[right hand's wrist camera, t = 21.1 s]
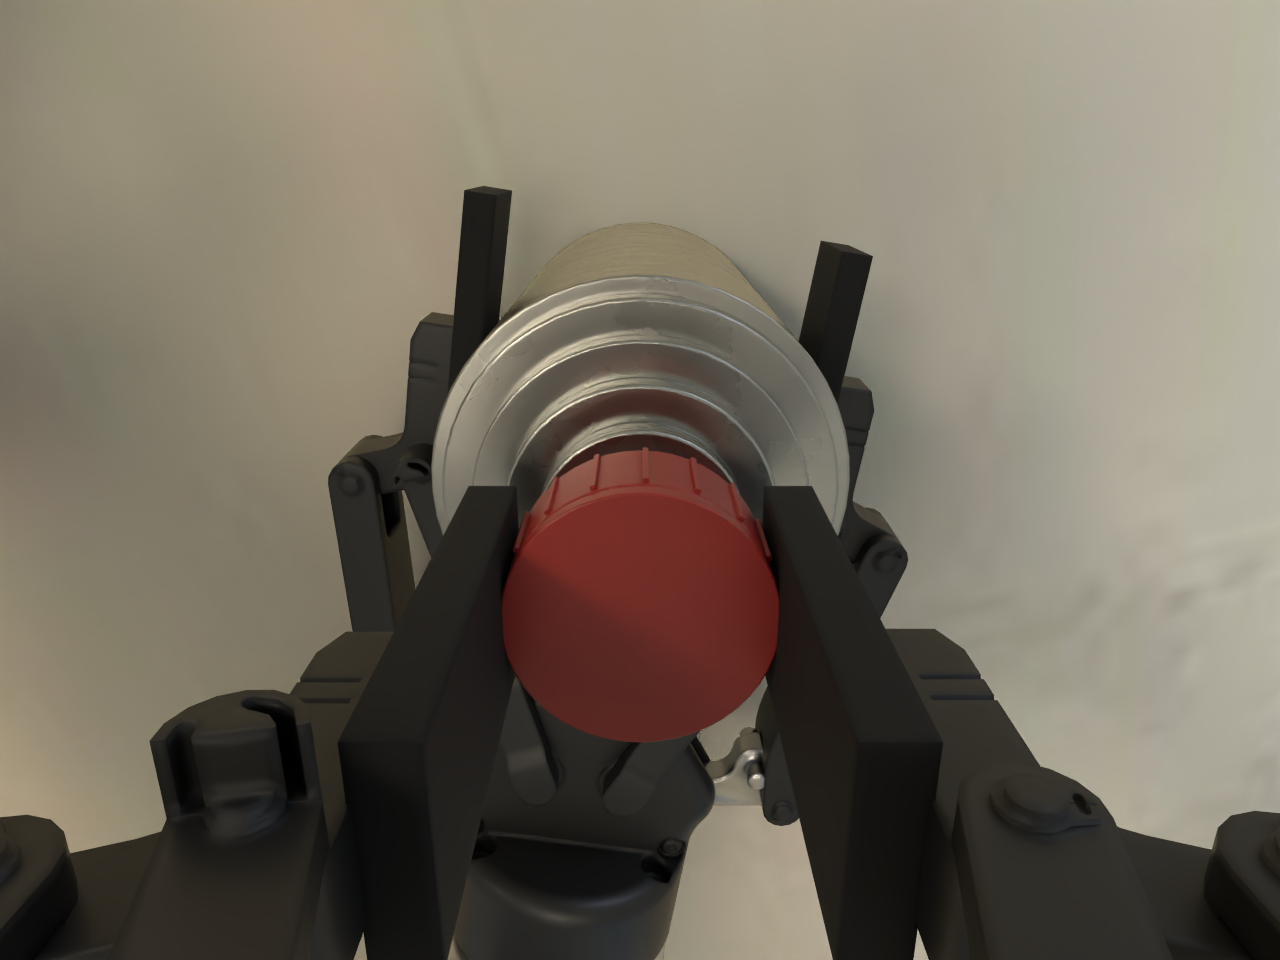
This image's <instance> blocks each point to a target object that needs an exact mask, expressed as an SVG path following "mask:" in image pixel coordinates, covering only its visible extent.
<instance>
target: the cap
mask: <svg viewBox="0 0 1280 960" xmlns="http://www.w3.org/2000/svg"><path fill="white" fill-rule="evenodd" d="M513 552H515V553H514V557H513V560H512V563H511V566H510V569H509V573H508V576H507V579H506V582H505V586H504V589H503V592H502V599H501V604H502V623H503V639H504V649H505V652H506V655H507V658H508V660H509V662H510V664H511V667H512V669H513V671H514V673H515V674H516V676H517V677H518V679H519V681H520V682H521V684H522V685H523V687H524V688H525V689H526V690H527V691H528V693H529V694H530V695H531V696H532V697H533V698H534V699H535V700H536V701H537V702H538V703H539V704H540V705H541V706H542V707H543V708H544V709H546V710H547V711H548V712H550V713H551V714H552V715H554V716H555V717H557V718H558V719H559V720H561V721H563V722H565V723H567V724H569V725H570V726H572V727H574V728H576V729H579V730H581V731H584V732H586V733H589V734H592V735H595V736H599V737H603V738H606V739H612V740H618V741H624V742H655V741H664V740H669V739H675V738H679V737H682V736H686V735H689V734H693V733H695V732H697V731H700V730H702V729H705V728H707V727H709V726H711V725H713V724H714V723H716V722H718V721H720V720H722V719H723V718H725V717H726V716H727V715H729V714H730V713H732V712H733V711H734V710H736V709H737V708H738V707H739V706H740V705H741V704H742V703H743V702H744V701H745V700H746V699H748V698H749V697H750V695H751V694H752V693H753V692H754V690H755V689H756V688H757V687H758V685H759V684H760V683H761V681H762V679H763V678H764V676H765V675H766V673H767V671H768V670H769V667H770V665H771V663H772V661H773V658H774V656H775V653H776V647H777V632H778V616H779V591H778V587H777V584H776V581H775V578H774V575H773V571H772V568H771V565H770V562H769V561H772V560H773V558H772V555H771V552H770V549H769V546H768V543H767V540H766V537H765V534H764V531H763V528H762V525H761V522H760V519H756V520H755V518H754V516H753V514H752V512H751V510H750V509H749V507H748V506H747V504H746V503H745V502H744V500H743V499H742V497H741V496H740V495H739V494H738V493H737V489H736V486H735V484H734V483H733V482H731V483H730V484H728V483H727V482H726V481H725V480H724V479H722V478H721V477H720V476H719V475H717V474H716V473H714V472H713V471H711V470H709V469H708V468H706V467H705V466H703V465H700V464H698V463H697V461H696V459H695V458H693V457H691V458H690V460H689V459H686V458H683V457H680V456H677V455H674V454H668V453H663V452H657V451H648V448H645V447H643V451H641V450H638V451H624V452H618V453H613V454H608V455H604V456H601V457H600V455H599V454H597V455H594V459H592V460H589V461H587V462H585V463H583V464H581V465H579V466H577V467H575V468H573V469H572V470H570V471H569V472H567V473H566V474H564V475H562V476H561V477H560V478H558V477H557V476H556V477H554V478H553V479H552V483H551V486H549V487H548V488H547V490H546V491H545V492H544V493H543V494H542V495H541V496H540V498H539V499H538V500H537V502H536V503H535V505H534V506H533V508H532V509H531V511H530V512H528V511H526V512H525V514H524V516H523V519H522V522H521V526H520V529H519V532H518V535H517V538H516V541H515V544H514V547H513Z"/></svg>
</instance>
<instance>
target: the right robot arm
mask: <svg viewBox="0 0 1280 960" xmlns="http://www.w3.org/2000/svg"><path fill="white" fill-rule="evenodd" d="M762 528H763V531H764V534H765V537H766V540H767V543H768V546H769V549H770V552H771V555H772V558H773V560H772V561H769V562H770V565H771V568H772V571H773V575H774V578H775V581H776V584H777V587H778V591H779V616H778V632H777V647H776V653H775V656H774V658H773V661H772V663H771V665H770V667H769V670H768V671H767V673H766V675H765V676H766V680H767V684H768V688H769V693H770V697H771V701H772V705H773V709H774V714H775V718H776V722H777V726H778V730H779V735H780V739H781V743H782V747H783V751H784V756H785V760H786V764H787V768H788V772H789V777H790V781H791V785H792V789H793V793H794V798H795V802H796V806H797V810H798V814H799V819H800V823H801V827H802V831H803V835H804V840H805V844H806V848H807V852H808V856H809V861H810V865H811V869H812V873H813V877H814V882H815V886H816V890H817V894H818V898H819V903H820V907H821V911H822V915H823V919H824V924H825V928H826V932H827V936H828V940H829V945H830V949H831V953H832V957H833V960H913V958H914V951H915V943H916V936H917V929H918V931H919V933H920V936H921V939H922V942H923V945H924V947H925V950H926V953H927V956H928V959H929V960H1280V813H1271V812H1260V811H1252V812H1247V813H1242V814H1237V815H1232V816H1230V817H1229V818H1228V819H1227V820H1226V821H1225V822H1224V823H1223V824H1222V825H1220V826H1219V827H1218V830H1217V833H1216V837H1215V841H1214V844H1213V848H1212V850H1210V849H1206V848H1201V847H1196V846H1192V845H1187V844H1183V843H1178V842H1174V841H1169V840H1164V839H1160V838H1155V837H1151V836H1146V835H1143V834H1139V833H1136V832H1132V831H1129V830H1125V829H1122V828H1119V827H1117V826H1116V823H1115V821H1114V818H1113V817H1112V815H1111V814H1110V813H1109V811H1108V810H1107V808H1106V807H1105V806H1104V804H1103V803H1102V801H1101V800H1100V799H1099V798H1098V797H1097V796H1096V795H1094V794H1093V793H1092V792H1090V791H1089V790H1088V789H1086V788H1085V787H1084V786H1082V785H1081V784H1080V783H1078V782H1077V781H1075V780H1073V779H1071V778H1068V777H1066V776H1064V775H1062V774H1060V773H1057V772H1055V771H1053V770H1051V769H1048V768H1044V767H1040V765H1039V764H1038V762H1037V761H1036V759H1035V757H1034V756H1033V754H1032V753H1031V751H1030V750H1029V748H1028V747H1027V745H1026V744H1025V742H1024V741H1023V739H1022V737H1021V736H1020V734H1019V733H1018V731H1017V730H1016V728H1015V727H1014V725H1013V724H1012V722H1011V721H1010V719H1009V717H1008V716H1007V714H1006V713H1005V711H1004V710H1003V708H1002V707H1001V705H1000V704H999V702H998V701H997V700H994V694H993V693H992V691H991V690H990V688H989V687H988V685H987V684H986V682H985V681H984V679H981V674H980V673H979V671H978V670H977V668H976V667H975V665H974V664H973V662H972V661H971V659H970V658H969V656H968V654H967V653H966V651H965V650H964V649H963V648H961V647H960V646H958V645H957V644H955V643H954V642H953V641H951V640H950V639H948V638H947V637H946V636H944V635H943V634H941V633H940V632H938V631H937V630H936V629H885V628H884V626H883V624H882V622H881V620H880V618H879V616H878V614H877V612H876V610H875V608H874V606H873V604H872V602H871V600H870V598H869V596H868V594H867V592H866V590H865V589H864V587H863V585H862V583H861V581H860V579H859V577H858V575H857V573H856V571H855V569H854V567H853V565H852V563H851V561H850V559H849V557H848V555H847V553H846V551H845V550H844V548H843V546H842V544H841V542H840V540H839V538H838V536H837V534H836V532H835V530H834V528H833V526H832V524H831V522H830V520H829V518H828V516H827V514H826V512H825V510H824V509H823V507H822V505H821V503H820V501H819V499H818V497H817V495H816V493H815V491H814V489H813V487H812V486H764V495H763V515H762ZM518 532H519V523H518V504H517V486H468V488H467V490H466V492H465V494H464V496H463V498H462V500H461V502H460V504H459V506H458V508H457V510H456V512H455V514H454V516H453V518H452V519H451V521H450V523H449V525H448V527H447V529H446V531H445V533H444V535H443V537H442V539H441V541H440V543H439V545H438V547H437V549H436V551H435V553H434V555H433V557H432V559H431V560H430V562H429V564H428V566H427V568H426V570H425V572H424V574H423V576H422V578H421V580H420V582H419V584H418V586H417V588H416V590H415V592H414V594H413V596H412V598H411V600H410V601H409V603H408V605H407V607H406V609H405V611H404V613H403V615H402V617H401V619H400V621H399V623H398V625H397V627H396V629H395V631H394V632H345V633H344V634H342V635H341V636H340V637H338V638H337V639H335V640H334V641H332V642H331V643H330V644H328V645H327V646H325V647H324V648H323V649H321V650H320V651H318V652H317V653H316V654H315V656H314V657H313V659H312V661H311V662H310V664H309V665H308V667H307V668H306V670H305V671H304V673H303V675H302V676H301V680H300V682H297V684H296V685H295V687H294V688H293V690H292V692H291V693H290V694H287V693H283V692H279V691H276V690H245V691H240V692H235V693H230V694H225V695H220V696H216V697H214V698H211V699H209V700H206V701H204V702H201V703H199V704H196V705H193V706H191V707H188V708H187V709H185V710H184V711H182V712H181V713H179V714H178V715H176V716H175V717H173V718H172V719H170V720H169V721H167V722H166V723H164V724H163V726H162V727H161V728H160V729H159V730H158V732H157V733H156V734H155V735H154V736H153V738H152V739H151V740H150V746H151V750H152V755H153V759H154V764H155V768H156V772H157V777H158V781H159V786H160V790H161V795H162V799H163V804H164V808H165V813H166V817H167V820H166V822H165V825H164V827H163V829H162V831H161V832H158V833H155V834H152V835H148V836H145V837H141V838H138V839H134V840H129V841H125V842H120V843H116V844H111V845H107V846H102V847H98V848H93V849H88V850H84V851H79V852H75V853H70V852H69V849H68V845H67V841H66V838H65V834H64V831H63V830H61V829H60V828H59V827H58V826H57V825H56V824H55V823H54V822H53V821H52V820H50V819H45V818H40V817H35V816H30V815H20V816H10V817H0V960H353V959H354V957H355V954H356V951H357V948H358V945H359V942H360V940H361V937H362V934H363V932H364V939H365V946H366V953H367V960H448V956H449V951H450V947H451V943H452V939H453V935H454V930H455V926H456V922H457V918H458V914H459V909H460V905H461V901H462V897H463V893H464V888H465V884H466V880H467V876H468V872H469V867H470V863H471V859H472V855H473V851H474V846H475V842H476V838H477V834H478V830H479V825H480V821H481V817H482V813H483V809H484V804H485V800H486V796H487V792H488V788H489V783H490V779H491V775H492V771H493V767H494V762H495V758H496V754H497V750H498V746H499V741H500V737H501V733H502V729H503V724H504V720H505V716H506V712H507V708H508V703H509V699H510V695H511V691H512V687H513V682H514V678H515V673H514V671H513V669H512V667H511V664H510V662H509V660H508V658H507V655H506V652H505V649H504V639H503V623H502V604H501V599H502V592H503V589H504V586H505V582H506V579H507V576H508V573H509V569H510V566H511V563H512V560H513V557H514V553H515V552H513V547H514V544H515V541H516V538H517V535H518Z"/></svg>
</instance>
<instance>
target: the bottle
mask: <svg viewBox="0 0 1280 960" xmlns="http://www.w3.org/2000/svg"><path fill="white" fill-rule="evenodd" d="M643 447H645V448H648V451H657V452H663V453H668V454H674V455H677V456H680V457H683V458H686V459H689V460H690V458H691V457H693V458H695V459H696V461H697V463H698V464H700V465H703V466H705V467H706V468H708V469H709V470H711V471H713V472H714V473H716V474H717V475H719V476H720V477H721V478H722V479H724V480H725V481H726V482H727V483H728V484H730V483H731V482H733V483H734V484H735V486H736V489H737V493H738V494H739V495H740V496H741V497H742V499H743V500H744V502H745V503H746V504H747V506H748V507H749V509H750V510H751V512H752V514H753V516H754V518H755V520H756V519H760V522H761V525H762V515H763V495H764V486H812V487H813V489H814V491H815V493H816V495H817V497H818V499H819V501H820V503H821V505H822V507H823V509H824V510H825V512H826V514H827V516H828V518H829V520H830V522H831V524H832V526H833V528H834V530H835V532H836V534H837V536H838V534H839V532H840V528H841V524H842V521H843V517H844V513H845V510H846V505H847V497H848V490H849V451H848V445H847V438H846V431H845V428H844V424H843V421H842V418H841V414H840V411H839V408H838V404H837V402H836V400H835V398H834V396H833V394H832V391H831V389H830V387H829V385H828V383H827V381H826V379H825V377H824V376H823V374H822V373H821V371H820V370H819V368H818V367H817V365H816V364H815V362H814V360H813V359H812V357H811V356H810V355H809V354H808V353H807V351H806V350H805V349H804V348H803V347H802V345H801V344H800V343H799V342H798V341H797V339H796V338H795V337H794V336H793V335H792V333H791V332H790V331H789V330H788V329H787V327H786V326H785V325H784V324H783V323H782V321H781V320H780V319H779V318H778V317H777V315H776V314H775V313H774V312H773V311H772V309H771V308H770V307H769V306H768V305H767V303H766V302H765V301H764V300H763V299H762V297H761V296H760V295H759V294H758V293H757V291H756V290H755V289H754V288H753V287H752V285H751V284H750V283H749V282H748V281H747V279H746V278H745V277H744V276H743V275H742V273H741V272H740V271H739V270H738V269H737V268H736V266H735V265H734V264H733V263H732V262H731V261H730V260H729V259H728V258H727V257H726V256H725V255H724V254H723V253H721V252H720V251H719V250H718V249H717V248H715V247H714V246H712V245H711V244H709V243H708V242H706V241H705V240H703V239H701V238H699V237H697V236H695V235H693V234H691V233H689V232H686V231H683V230H680V229H677V228H674V227H671V226H665V225H660V224H654V223H630V224H620V225H615V226H611V227H607V228H603V229H600V230H598V231H595V232H592V233H590V234H587V235H585V236H584V237H582V238H580V239H578V240H576V241H574V242H573V243H571V244H570V245H568V246H567V247H566V248H564V249H563V250H562V251H560V252H559V253H558V254H557V255H556V256H555V257H554V258H553V259H552V260H551V261H550V262H549V263H548V264H547V265H546V266H545V267H544V268H543V269H542V271H541V272H540V273H539V274H538V276H537V277H536V278H535V279H534V280H533V282H532V283H531V284H530V285H529V286H528V288H527V289H526V290H525V291H524V292H523V294H522V295H521V296H520V297H519V298H518V300H517V301H516V302H515V303H514V304H513V306H512V307H511V308H510V309H509V310H508V312H507V313H506V314H505V315H504V316H503V318H502V319H501V320H500V321H499V322H498V324H497V325H496V326H495V327H494V328H493V330H492V331H491V332H490V333H489V335H488V336H487V337H486V338H485V339H484V341H483V342H482V343H481V344H480V345H479V347H478V348H477V349H476V351H475V352H474V353H473V354H472V356H471V357H470V358H469V360H468V361H467V362H466V363H465V365H464V366H463V368H462V369H461V371H460V373H459V375H458V376H457V378H456V380H455V382H454V383H453V385H452V387H451V389H450V391H449V393H448V396H447V398H446V401H445V403H444V406H443V408H442V411H441V413H440V417H439V421H438V425H437V429H436V433H435V437H434V444H433V454H432V464H431V470H432V492H433V498H434V503H435V509H436V514H437V518H438V521H439V524H440V527H441V530H442V533H443V535H444V533H445V531H446V529H447V527H448V525H449V523H450V521H451V519H452V518H453V516H454V514H455V512H456V510H457V508H458V506H459V504H460V502H461V500H462V498H463V496H464V494H465V492H466V490H467V488H468V486H517V504H518V523H519V529H520V526H521V522H522V519H523V516H524V514H525V512H526V511H528V512H530V511H531V509H532V508H533V506H534V505H535V503H536V502H537V500H538V499H539V498H540V496H541V495H542V494H543V493H544V492H545V491H546V490H547V488H548V487H549V486H551V483H552V479H553V478H554V477H556V476H557V477H558V478H560V477H561V476H562V475H564V474H566V473H567V472H569V471H570V470H572V469H573V468H575V467H577V466H579V465H581V464H583V463H585V462H587V461H589V460H592V459H594V455H597V454H599V455H600V457H601V456H604V455H608V454H613V453H618V452H624V451H638V450H641V451H643Z"/></svg>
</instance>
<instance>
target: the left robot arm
mask: <svg viewBox="0 0 1280 960" xmlns="http://www.w3.org/2000/svg"><path fill="white" fill-rule="evenodd" d="M511 195H512V191H511V190H505V189H499V188H492V187H486V186H481V187H477V188H472V189H468V190H464V202H463V214H462V226H461V238H460V250H459V262H458V273H457V285H456V297H455V309H454V316H453V315H447V314H440V313H434V312H432V313H430V314H429V315H428V316H426V317H425V318H424V319H423V320H421V321H420V322H419V324H418V326H417V328H416V330H415V332H414V334H413V336H412V338H411V343H410V357H409V360H410V363H409V372H408V375H409V378H408V387H407V402H406V416H405V428H404V432H403V433H399V434H396V435H391V436H386V437H382V436H377V435H371V436H366V437H364V438H363V439H362V440H360V441H359V442H358V443H357V444H356V445H355V446H354V447H353V448H352V449H351V450H350V451H349V452H348V453H347V454H346V455H345V457H344V458H343V459H342V460H341V461H340V462H339V463H338V464H337V465H336V466H335V467H334V468H333V469H332V471H331V473H330V475H329V479H328V486H329V492H330V498H331V504H332V510H333V516H334V522H335V528H336V534H337V540H338V546H339V552H340V558H341V564H342V570H343V576H344V582H345V588H346V594H347V600H348V606H349V612H350V618H351V624H352V630H353V632H394V631H395V629H396V627H397V625H398V623H399V621H400V619H401V617H402V615H403V613H404V611H405V609H406V607H407V605H408V603H409V601H410V600H411V598H412V596H413V594H414V592H415V584H414V576H413V569H412V562H411V554H410V547H409V540H408V532H407V525H406V518H405V510H404V503H403V496H402V490H405V493H406V495H407V498H408V500H409V503H410V505H411V508H412V510H413V513H414V515H415V518H416V520H417V523H418V525H419V528H420V530H421V533H422V535H423V538H424V540H425V543H426V545H427V548H428V550H429V553H430V555H431V558H432V557H433V555H434V553H435V551H436V549H437V547H438V545H439V543H440V541H441V539H442V537H443V533H442V530H441V527H440V524H439V521H438V518H437V514H436V509H435V503H434V498H433V492H432V470H431V464H432V454H433V444H434V437H435V433H436V429H437V425H438V421H439V417H440V413H441V411H442V408H443V406H444V403H445V401H446V398H447V396H448V393H449V391H450V389H451V387H452V385H453V383H454V382H455V380H456V378H457V376H458V375H459V373H460V371H461V369H462V368H463V366H464V365H465V363H466V362H467V361H468V360H469V358H470V357H471V356H472V354H473V353H474V352H475V351H476V349H477V348H478V347H479V345H480V344H481V343H482V342H483V341H484V339H485V338H486V337H487V336H488V335H489V333H490V332H491V331H492V330H493V328H494V327H495V326H496V325H497V324H498V322H499V314H500V304H501V294H502V284H503V274H504V265H505V255H506V245H507V235H508V225H509V215H510V205H511ZM872 258H873V256H871V255H869V254H867V253H864V252H862V251H860V250H858V249H855V248H853V247H851V246H849V245H843V244H837V243H831V242H825V241H821V243H820V247H819V252H818V256H817V261H816V265H815V270H814V275H813V279H812V284H811V288H810V293H809V297H808V302H807V307H806V311H805V316H804V320H803V325H802V329H801V334H800V339H799V343H800V344H801V345H802V347H803V348H804V349H805V350H806V351H807V353H808V354H809V355H810V356H811V357H812V359H813V360H814V362H815V364H816V365H817V367H818V368H819V370H820V371H821V373H822V374H823V376H824V377H825V379H826V381H827V383H828V385H829V387H830V389H831V391H832V394H833V396H834V398H835V400H836V402H837V404H838V408H839V411H840V414H841V418H842V421H843V424H844V428H845V431H846V438H847V445H848V451H849V490H848V497H847V505H846V510H845V513H844V517H843V521H842V524H841V528H840V532H839V534H838V538H839V540H840V542H841V544H842V546H843V548H844V550H845V551H846V553H847V555H848V557H849V559H850V561H851V563H852V565H853V567H854V569H855V571H856V573H857V575H858V577H859V579H860V581H861V583H862V585H863V587H864V589H865V590H866V592H867V594H868V596H869V598H870V600H871V602H872V604H873V606H874V608H875V610H876V612H877V614H878V616H879V618H881V616H882V614H883V612H884V610H885V608H886V606H887V604H888V602H889V600H890V598H891V596H892V594H893V592H894V590H895V588H896V586H897V584H898V582H899V581H900V579H901V577H902V575H903V573H904V571H905V569H906V566H907V562H908V556H907V552H906V550H905V549H904V547H903V546H902V544H901V543H900V541H899V540H898V538H897V537H896V535H895V534H894V532H893V531H892V529H891V528H890V526H889V525H888V523H887V522H886V520H885V519H884V517H883V516H882V515H881V513H880V512H878V511H877V510H875V509H872V508H864V507H862V506H860V505H858V504H857V503H855V502H853V500H852V499H853V492H854V488H855V484H856V480H857V476H858V472H859V468H860V464H861V460H862V456H863V453H864V449H865V448H864V447H865V445H866V441H867V437H868V431H869V429H870V425H871V421H872V417H873V413H874V406H873V399H872V393H871V390H870V389H869V388H868V387H867V386H866V385H865V384H864V383H863V382H862V381H861V380H860V379H859V378H853V377H846V376H844V375H845V371H846V366H847V362H848V358H849V354H850V350H851V345H852V341H853V337H854V333H855V329H856V325H857V320H858V316H859V312H860V308H861V304H862V300H863V295H864V291H865V287H866V283H867V279H868V275H869V270H870V266H871V262H872ZM699 732H700V731H697V732H695V733H693V734H689V735H686V736H682V737H679V738H675V739H669V740H664V741H655V742H624V741H618V740H612V739H606V738H603V737H599V736H595V735H592V734H589V733H586V732H584V731H581V730H579V729H576V728H574V727H572V726H570V725H569V724H567V723H565V722H563V721H561V720H559V719H558V718H557V717H555V716H554V715H552V714H551V713H550V712H548V711H547V710H546V709H544V708H543V707H542V706H541V705H540V704H539V703H538V702H537V701H536V700H535V699H534V698H533V697H532V696H531V695H530V694H529V693H528V691H527V690H526V689H525V688H524V687H523V685H522V684H521V682H520V681H519V679H518V677H517V676H516V674H515V678H514V682H513V687H512V691H511V695H510V699H509V703H508V708H507V712H506V716H505V720H504V724H503V729H502V733H501V737H500V741H499V746H498V750H497V754H496V758H495V762H494V767H493V771H492V775H491V779H490V783H489V788H488V792H487V796H486V800H485V804H484V809H483V813H482V817H481V821H480V825H479V830H478V834H477V838H476V842H475V846H474V851H473V855H472V859H471V863H470V867H469V872H468V876H467V880H466V884H465V888H464V893H463V897H462V901H461V905H460V909H459V914H458V918H457V922H456V926H455V930H454V935H453V939H452V943H451V947H450V951H449V956H448V960H663V957H664V947H665V941H666V938H667V936H668V933H669V928H670V924H671V919H672V914H673V910H674V905H675V901H676V896H677V891H678V887H679V882H680V878H681V873H682V869H683V864H684V859H685V855H686V850H687V846H688V841H689V838H690V836H691V834H692V832H693V830H694V829H695V828H696V826H697V825H698V824H699V823H700V822H701V821H702V820H703V819H704V818H705V817H706V816H707V815H708V814H709V812H710V811H711V809H712V807H713V805H762V808H763V814H764V817H765V818H766V819H767V821H768V822H770V823H772V824H774V825H779V826H784V825H789V824H791V823H793V822H795V821H796V820H797V819H798V818H799V814H798V810H797V806H796V802H795V798H794V793H793V789H792V785H791V781H790V777H789V772H788V768H787V764H786V760H785V756H784V751H783V747H782V743H781V739H780V735H779V730H778V726H777V722H776V718H775V714H774V709H773V705H772V701H771V697H770V693H769V688H768V686H767V689H766V691H765V693H764V695H763V698H762V700H761V703H760V705H759V709H758V713H757V717H756V724H755V729H754V728H751V727H748V728H744V729H743V730H742V731H741V732H740V737H738V738H737V739H736V740H735V742H734V744H733V747H732V749H731V752H730V753H729V754H728V755H727V756H726V757H724V758H723V759H720V760H717V761H710V759H709V757H708V755H707V753H706V752H705V750H704V748H703V746H702V745H701V743H700V741H699V740H698V738H697V736H696V735H697V734H698V733H699Z"/></svg>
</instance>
